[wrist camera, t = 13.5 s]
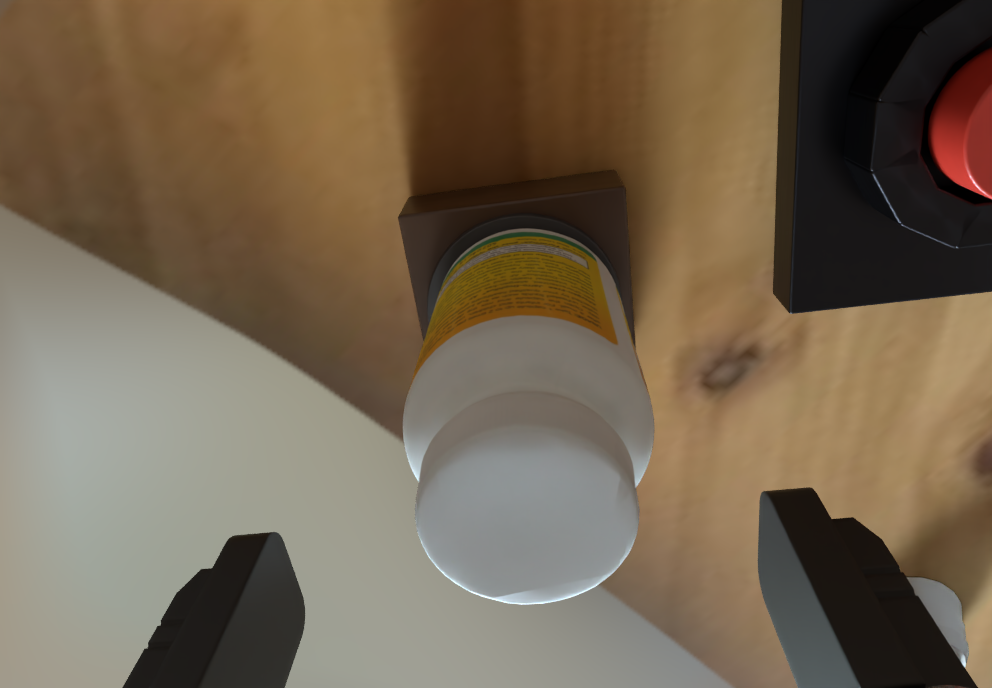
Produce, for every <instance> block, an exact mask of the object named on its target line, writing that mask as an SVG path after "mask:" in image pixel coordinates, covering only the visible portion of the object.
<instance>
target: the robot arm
mask: <svg viewBox="0 0 992 688" xmlns="http://www.w3.org/2000/svg"><path fill="white" fill-rule="evenodd" d="M758 573H759V580H760V586H761V590H762V594H763V598H764V601H765V604H766V607H767V609H768V612H769V614H770V617H771V619H772V622H773V625H774V627H775V630H776V632H777V635H778V637H779V640H780V643H781V645H782V648H783V650H784V653H785V655H786V658H787V661H788V663H789V666H790V668H791V671H792V673H793V676H794V678H795V681H796V684H797V686H798V688H978V687H977V686H976V684H975V683H974V681H973V680H972V678H971V677H970V675H969V674H968V672H967V671H966V669H965V668H964V666H963V664H962V663H961V661H960V660H959V658H958V657H957V655H956V654H955V652H954V650H953V649H952V647H951V646H950V644H949V643H948V641H947V640H946V638H945V637H944V635H943V633H942V632H941V630H940V629H939V627H938V626H937V624H936V623H935V621H934V619H933V618H932V616H931V615H930V613H929V612H928V610H927V609H926V607H925V606H924V604H923V602H922V601H921V599H920V598H919V596H918V595H917V596H916V595H915V593H914V588H913V587H912V585H911V584H910V582H909V581H908V579H907V578H906V576H905V575H904V573H903V572H900V567H899V565H898V564H897V562H896V561H895V559H894V557H893V556H892V554H891V553H890V551H889V550H888V548H887V547H886V545H885V544H884V542H883V540H882V539H880V538H879V537H878V536H877V535H875V534H874V533H873V532H871V531H870V530H869V529H867V528H866V527H865V526H863V525H862V524H861V523H860V522H858V521H857V520H856V519H854V518H840V519H831V517H830V516H829V514H828V512H827V510H826V509H825V507H824V505H823V504H822V502H821V500H820V498H819V497H818V495H817V493H816V492H815V491H814V489H812V488H810V487H809V488H797V489H786V490H774V491H764V492H762V493H761V496H760V510H759V542H758ZM304 624H305V606H304V600H303V596H302V593H301V590H300V587H299V584H298V581H297V578H296V576H295V572H294V570H293V567H292V564H291V561H290V558H289V555H288V553H287V550H286V547H285V544H284V541H283V539H282V537H281V536H280V535H279V534H278V533H276V532H270V533H259V534H247V535H236V536H232V537H231V538H229V539H228V541H227V542H226V544H225V546H224V547H223V549H222V551H221V553H220V555H219V557H218V559H217V561H216V563H215V564H214V566H213V568H211V569H201V570H200V571H199V572H198V573H197V574H196V575H195V576H194V577H193V578H192V579H191V580H190V581H189V582H188V583H187V584H186V585H185V586H184V587H183V588H182V589H181V590H180V591H179V592H177V594H176V595H175V597H174V599H173V600H172V602H171V604H170V606H169V607H168V609H167V611H166V613H165V614H164V616H163V618H162V620H161V626H158V627H157V628H156V630H155V632H154V634H153V635H152V637H151V639H150V641H149V642H148V649H144V651H143V653H142V654H141V656H140V658H139V660H138V662H137V663H136V665H135V667H134V668H133V670H132V672H131V674H130V675H129V677H128V679H127V681H126V683H125V684H124V686H123V688H284V687H285V685H286V682H287V679H288V676H289V672H290V670H291V667H292V664H293V661H294V658H295V655H296V652H297V649H298V647H299V644H300V641H301V638H302V634H303V630H304Z"/></svg>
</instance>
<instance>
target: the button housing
mask: <svg viewBox="0 0 992 688" xmlns="http://www.w3.org/2000/svg"><path fill="white" fill-rule="evenodd" d="M991 47H992V0H782V21H781V53H780V85H779V117H778V149H777V182H776V214H775V246H774V278H773V294H774V295H775V296H776V297H777V299H778V300H779V301H780V302H781V304H782V305H783V306H784V307H785V308H786V310H787V311H788V312H789V313H791V314H794V313H803V312H812V311H821V310H830V309H839V308H848V307H857V306H866V305H875V304H884V303H893V302H902V301H911V300H920V299H929V298H938V297H947V296H956V295H965V294H974V293H983V292H992V199H989V198H987V197H985V196H983V195H980V194H978V193H976V192H974V191H971V190H969V189H967V188H965V187H962V186H960V185H958V184H956V183H954V182H952V181H950V180H949V179H948V178H947V177H945V176H944V175H943V174H942V173H941V172H940V171H939V169H938V168H937V166H936V165H935V163H934V161H933V159H932V157H931V154H930V150H929V146H928V125H929V119H930V115H931V112H932V109H933V106H934V104H935V102H936V100H937V98H938V96H939V94H940V92H941V91H942V89H943V88H944V86H945V85H946V83H947V82H948V81H949V79H950V78H951V77H952V76H953V75H954V74H955V73H956V72H957V71H958V70H959V69H960V68H961V67H962V66H963V65H964V64H965V63H967V62H968V61H969V60H971V59H972V58H973V57H975V56H976V55H978V54H980V53H981V52H983V51H985V50H987V49H989V48H991Z"/></svg>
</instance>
